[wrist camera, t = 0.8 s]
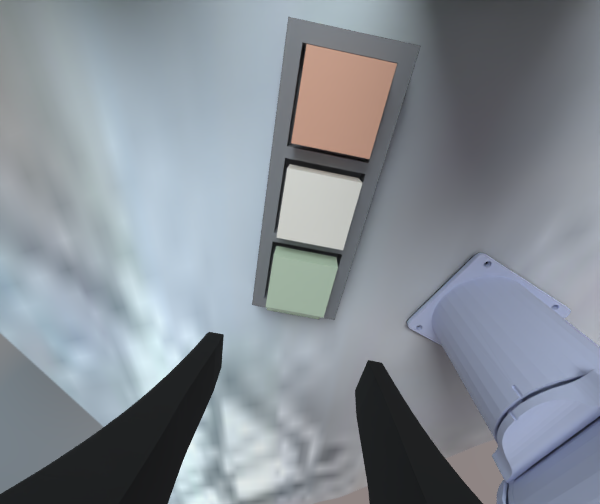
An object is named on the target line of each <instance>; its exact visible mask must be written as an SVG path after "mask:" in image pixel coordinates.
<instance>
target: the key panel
mask: <svg viewBox="0 0 600 504" xmlns="http://www.w3.org/2000/svg"><path fill="white" fill-rule="evenodd" d="M307 44H309V45H314V46H318V47H323V48H327V49H332V50H337V51H341V52H346V53H351V54H355V55H360V56H364V57H369V58H374V59H378V60H383V61H388V62H392V63H397V66H396V69H395V73H394V76H393V80H392V83H391V87H390V90H389V94H388V97H387V100H386V104H385V107H384V111H383V114H382V118H381V121H380V125H379V128H378V132H377V135H376V138H375V142H374V145H373V149H372V152H371V156H370V159H366V158H361V157H356V156H352V155H347V154H342V153H337V152H332V151H327V150H322V149H317V148H312V147H307V146H302V145H297V144H293V143H291V141H292V135H293V128H294V122H295V115H296V109H297V103H298V96H299V90H300V83H301V77H302V71H303V64H304V58H305V51H306V45H307ZM420 47H421V46H419V45H415V44H410V43H405V42H401V41H396V40H392V39H387V38H383V37H378V36H374V35H369V34H364V33H360V32H355V31H351V30H346V29H342V28H337V27H333V26H328V25H323V24H319V23H314V22H310V21H305V20H301V19H296V18H291V17H288V24H287V32H286V40H285V48H284V56H283V64H282V72H281V80H280V88H279V95H278V103H277V111H276V119H275V127H274V135H273V143H272V151H271V159H270V167H269V175H268V183H267V190H266V198H265V206H264V214H263V222H262V230H261V238H260V246H259V254H258V262H257V270H256V278H255V286H254V293H253V301H252V305H255V306H261V307H266V301H267V295H268V288H269V282H270V275H271V269H272V263H273V256H274V253H275V250H276V246H281V247H286V248H291V249H296V250H302V251H307V252H312V253H317V254H323V255H328V256H333V257H336V258H337V264H338V270H337V273H336V276H335V280H334V283H333V287H332V290H331V294H330V297H329V301H328V304H327V307H326V311H325V314H324V318H327V319H332V320H334V319H335V316H336V313H337V310H338V307H339V303H340V300H341V297H342V294H343V291H344V288H345V284H346V281H347V278H348V275H349V272H350V268H351V265H352V262H353V259H354V256H355V253H356V249H357V246H358V243H359V240H360V237H361V234H362V230H363V227H364V224H365V221H366V218H367V215H368V211H369V208H370V205H371V202H372V199H373V196H374V192H375V189H376V186H377V183H378V180H379V177H380V173H381V170H382V167H383V164H384V161H385V158H386V154H387V151H388V148H389V145H390V142H391V139H392V135H393V132H394V129H395V126H396V123H397V119H398V116H399V113H400V110H401V107H402V104H403V100H404V97H405V94H406V91H407V88H408V85H409V81H410V78H411V75H412V72H413V69H414V66H415V62H416V59H417V56H418V53H419V50H420ZM289 164H292V165H297V166H302V167H307V168H312V169H316V170H321V171H326V172H331V173H336V174H341V175H346V176H351V177H356V178H359V179H360V180H361V182H362V187H361V190H360V194H359V197H358V201H357V204H356V207H355V211H354V214H353V218H352V221H351V225H350V228H349V232H348V235H347V238H346V242H345V245H344V249H343V250H339V249H333V248H328V247H323V246H318V245H312V244H307V243H302V242H297V241H292V240H286V239H281V238H276V237H277V231H278V224H279V218H280V211H281V205H282V199H283V192H284V186H285V179H286V173H287V168H288V166H289ZM266 308H267V310H270V311H275V312H281V313H286V314H292V315H297V316H303V317H308V318H314V319H319V317H317V316H312V315H306V314H301V313H295V312H290V311H284V310H279V309H273V308H268V307H266ZM321 318H323V317H321Z"/></svg>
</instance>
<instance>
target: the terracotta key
mask: <svg viewBox="0 0 600 504" xmlns="http://www.w3.org/2000/svg"><path fill="white" fill-rule="evenodd" d="M396 66H397V63H392V62H388V61H383V60H378V59H374V58H369V57H364V56H360V55H355V54H351V53H346V52H341V51H337V50H332V49H327V48H323V47H318V46H314V45H309V44H307V45H306V51H305V58H304V64H303V71H302V77H301V83H300V90H299V96H298V103H297V109H296V115H295V122H294V128H293V135H292V141H291V143H293V144H297V145H302V146H307V147H312V148H317V149H322V150H327V151H332V152H337V153H342V154H347V155H352V156H356V157H361V158H366V159H370V156H371V152H372V149H373V145H374V142H375V138H376V135H377V132H378V128H379V125H380V121H381V118H382V114H383V111H384V107H385V104H386V100H387V97H388V94H389V90H390V87H391V83H392V80H393V76H394V73H395V69H396Z"/></svg>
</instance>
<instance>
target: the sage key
mask: <svg viewBox="0 0 600 504" xmlns="http://www.w3.org/2000/svg"><path fill="white" fill-rule="evenodd" d="M337 270H338V264H337V258H336V257H333V256H328V255H323V254H317V253H312V252H307V251H302V250H296V249H291V248H286V247H281V246H276V250H275V253H274V256H273V263H272V269H271V275H270V282H269V288H268V295H267V301H266V307H268V308H273V309H279V310H284V311H290V312H295V313H301V314H306V315H312V316H317V317H323V318H324V314H325V311H326V307H327V304H328V301H329V297H330V294H331V290H332V287H333V283H334V280H335V276H336V273H337Z"/></svg>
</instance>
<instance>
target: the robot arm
mask: <svg viewBox="0 0 600 504" xmlns="http://www.w3.org/2000/svg"><path fill="white" fill-rule="evenodd" d="M487 261H488V263H487V264H486V265H484V263H485V262H487ZM570 312H571V310H570V309H569V308H568V307H567V306H565V305H564V304H562V303H561V302H559V301H557V300H556V299H554V298H553V297H551V296H550V295H548V294H547V293H545V292H544V291H542V290H541V289H539V288H537V287H536V286H534V285H533V284H531V283H530V282H528V281H527V280H525V279H524V278H522V277H520V276H519V275H517V274H516V273H514V272H513V271H511V270H510V269H508V268H507V267H505V266H504V265H502V264H500V263H499V262H497V261H496V260H494V259H493V258H491V257H490V256H488V255H487V254H485V253H478V254H476V255H475V256H474V257H473V258H472V259H471V260H469V261H468V262H467V263H466V264H465V265H464V266H463V267H462V268H461V269H460V270H459V271H458V272H457V273H456V274H455V275H454V276H453V277H452V278H451V279H450V280H449V281H448V282H447V283H446V284H445V285H444V286H443V287H442V288H441V289H440V290H438V291H437V292H436V293H435V294H434V295H433V296H432V297H431V298H430V299H429V300H428V301H427V302H426V303H425V304H424V305H423V306H422V307H421V308H420V309H419V310H418V311H417V312H416V313H415V314H414V315H413V316H412V317H411V318H410V319H409V320H408V321H407V325H408V327H409V328H410V329H411V330H413V331H415V332H417V333H419V334H421V335H423V336H424V337H426V338H428V339H430V340H432V341H434V342H436V343H437V344H439V345H441V346H443V348H444V350H445V352H446V354H447V355H448V357H449V359H450V361H451V362H452V364H453V366H454V368H455V369H456V371H457V373H458V375H459V377H460V378H461V380H462V382H463V384H464V385H465V387H466V389H467V391H468V392H469V394H470V396H471V398H472V399H473V401H474V403H475V405H476V407H477V408H478V410H479V412H480V414H481V415H482V417H483V419H484V421H485V422H486V424H487V426H488V428H489V429H490V431H491V433H492V435H493V437H494V438H495V440H496V442H497V443H498V448H497V450H496V452H495V453H494V454H493V455H492V457H493V459H494V461H495V463H496V465H497V467H498V469H499V471H500V472H501V474H502V476H503V478H504V480H503V481H502V483H501V484H500V486H499V488H498V492H497V504H600V346H598V345H597V344H596V343H595V342H593V341H592V340H591V339H589V338H588V337H587V336H586V335H584V334H583V333H582V332H581V331H579V330H578V329H577V328H575V327H574V326H573V325H572V324H570V323H569V322H568V321H567V320H565V319H564V318H566V317H567V316H568V315H569V314H570ZM419 325H420V326H419ZM417 326H419V327H417ZM222 350H223V334H218V333H212V332H209V333H207V334H206V335H205V336H204V338H203V339H202V340H201V341H200V342H199V343H198V344H197V345H196V347H195V348H194V349H193V350H192V351H191V352H190V353H189V354H188V355H187V356H186V357H185V358H184V359H183V360H182V361H181V362H180V363H179V364H178V365H177V366H176V367H175V368H174V369H173V370H172V371H171V372H170V373H169V374H168V375H167V376H166V377H165V378H163V379H162V380H161V381H160V382H159V383H158V384H157V385H156V386H155V387H154V388H152V389H151V390H150V391H149V392H148V393H147V394H146V395H144V396H143V397H142V398H141V399H140V400H138V401H137V402H136V403H135V404H134V405H132V406H131V407H130V408H128V409H127V410H126V411H125V412H123V413H122V414H121V415H120V416H118V417H117V418H116V419H114V420H113V421H112V422H110V423H109V424H108V425H106V426H105V427H103V428H102V429H101V430H99V431H98V432H97V433H95V434H94V435H92V436H91V437H90V438H88V439H87V440H85V441H84V442H82V443H81V444H80V445H78V446H76V447H75V448H73V449H72V450H70V451H69V452H67V453H66V454H64V455H63V456H61V457H60V458H58V459H57V460H55V461H54V462H52V463H51V464H49V465H47V466H46V467H44V468H43V469H41V470H40V471H38V472H36V473H35V474H33V475H31V476H30V477H28V478H27V479H25V480H23V481H21V482H20V483H18V484H16V485H15V486H13V487H11V488H10V489H8V490H6V491H5V492H3V493H2V494H0V504H168V501H169V498H170V495H171V492H172V490H173V487H174V484H175V481H176V478H177V476H178V473H179V470H180V467H181V464H182V462H183V459H184V457H185V454H186V452H187V449H188V447H189V445H190V443H191V440H192V438H193V436H194V434H195V431H196V429H197V427H198V425H199V423H200V420H201V418H202V416H203V414H204V411H205V409H206V407H207V405H208V402H209V400H210V398H211V395H212V393H213V391H214V388H215V385H216V382H217V379H218V376H219V373H220V370H221V364H222ZM355 397H356V415H357V422H358V428H359V434H360V440H361V446H362V452H363V458H364V464H365V470H366V476H367V483H368V490H369V501H370V504H483V503H482V502H481V501H480V500H479V499H478V497H477V496H476V495H475V494H474V493H473V492H472V491H471V490H470V488H469V487H468V486H467V485H466V484H465V483H464V481H463V480H462V479H461V478H460V477H459V475H458V474H457V473H456V472H455V470H454V469H453V468H452V467H451V465H450V464H449V463H448V462H447V460H446V459H445V458H444V456H443V455H442V454H441V453H440V451H439V450H438V449H437V447H436V446H435V445H434V443H433V442H432V440H431V439H430V438H429V436H428V435H427V433H426V432H425V430H424V429H423V428H422V426H421V425H420V423H419V422H418V420H417V419H416V417H415V416H414V414H413V413H412V411H411V409H410V408H409V406H408V405H407V403H406V402H405V400H404V399H403V397H402V395H401V394H400V392H399V390H398V389H397V387H396V386H395V384H394V382H393V381H392V379H391V377H390V375H389V374H388V372H387V370H386V369H385V367H384V366H383V364H382V363H380V362H375V361H369V360H368V362H367V364H366V367H365V369H364V371H363V373H362V376H361V378H360V380H359V383H358V385H357V387H356V390H355Z"/></svg>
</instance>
